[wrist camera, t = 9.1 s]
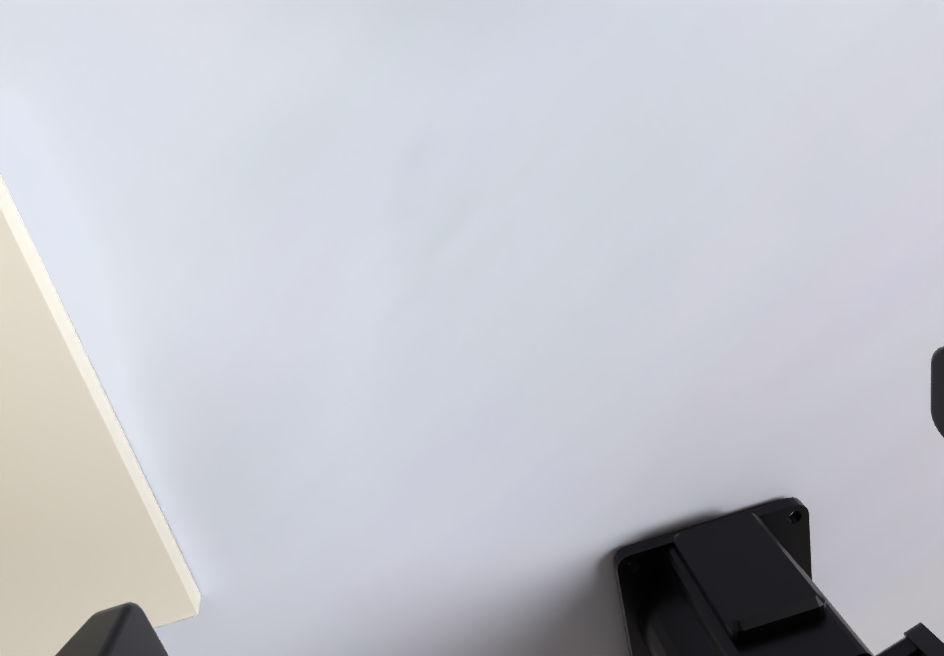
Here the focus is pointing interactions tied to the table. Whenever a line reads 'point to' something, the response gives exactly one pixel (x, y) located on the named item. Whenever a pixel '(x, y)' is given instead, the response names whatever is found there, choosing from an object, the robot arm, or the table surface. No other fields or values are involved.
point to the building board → (68, 477)
